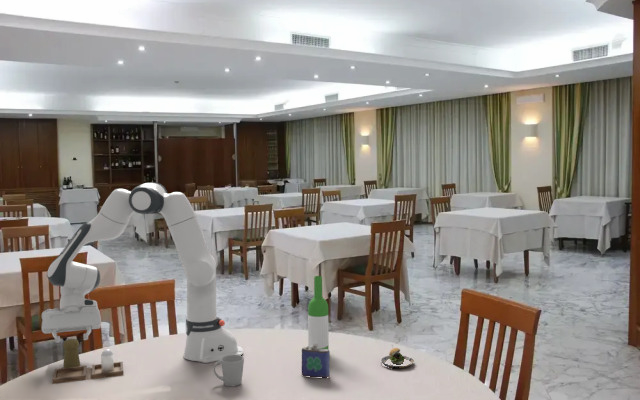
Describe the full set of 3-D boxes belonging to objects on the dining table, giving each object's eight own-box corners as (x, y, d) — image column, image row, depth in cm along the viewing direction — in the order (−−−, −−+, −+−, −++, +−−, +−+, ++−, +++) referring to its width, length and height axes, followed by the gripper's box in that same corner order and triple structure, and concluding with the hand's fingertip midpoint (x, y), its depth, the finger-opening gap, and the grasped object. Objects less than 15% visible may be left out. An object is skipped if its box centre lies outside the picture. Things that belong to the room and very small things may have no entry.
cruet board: (122, 368, 211) (122, 360, 211) (123, 379, 200) (123, 371, 199) (55, 375, 203) (55, 368, 203) (52, 388, 192) (52, 380, 192)
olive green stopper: (74, 373, 205) (73, 342, 205) (58, 372, 206) (57, 341, 206) (84, 367, 211) (83, 337, 210) (69, 366, 212) (68, 336, 212)
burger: (391, 372, 206) (391, 352, 205) (375, 362, 216) (375, 342, 216) (420, 368, 211) (420, 347, 210) (403, 358, 221) (403, 338, 221)
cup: (244, 387, 192) (243, 361, 192) (213, 388, 191) (212, 363, 191) (244, 378, 200) (244, 354, 199) (214, 380, 199) (214, 355, 198)
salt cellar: (113, 368, 206) (113, 347, 205) (113, 372, 202) (113, 350, 202) (101, 370, 205) (101, 348, 204) (101, 373, 201) (100, 351, 200)
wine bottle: (332, 352, 227) (332, 275, 225) (321, 358, 220) (321, 279, 218) (315, 349, 231) (315, 273, 229) (304, 355, 224) (303, 277, 222)
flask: (330, 376, 202) (330, 343, 201) (328, 379, 199) (327, 346, 198) (302, 373, 205) (302, 341, 204) (300, 377, 202) (299, 344, 201)
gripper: (41, 305, 215) (38, 339, 206) (100, 300, 222) (101, 333, 213) (42, 314, 219) (40, 347, 211) (101, 309, 226) (101, 341, 218)
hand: (71, 340), depth 212 cm, fingers open, 8 cm apart
